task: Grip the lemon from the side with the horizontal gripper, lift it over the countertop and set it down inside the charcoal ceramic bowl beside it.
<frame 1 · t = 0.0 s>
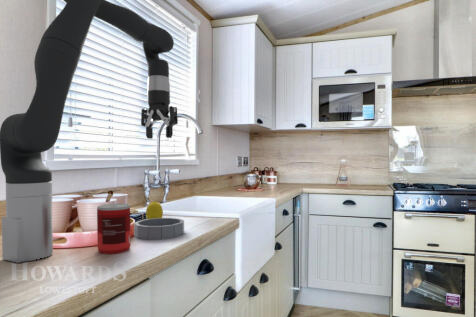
hand: (159, 138, 121), 29 cm above the counter, tool pointing down, fingers open, 8 cm apart
lemon: (154, 225, 119), on the counter
canned food: (114, 250, 87), on the counter
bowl: (159, 233, 105), on the counter
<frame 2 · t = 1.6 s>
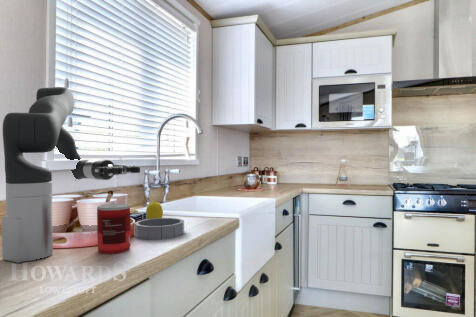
hand: (130, 170, 124), 18 cm above the counter, tool horizontal, fingers open, 8 cm apart
nothing on the counter moved.
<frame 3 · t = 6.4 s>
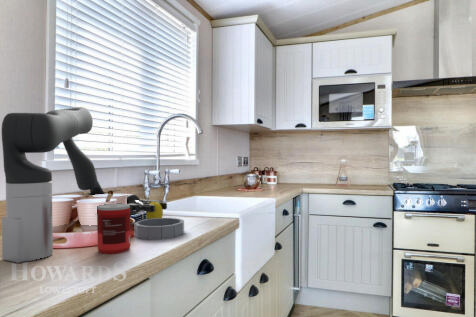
hand: (160, 207, 117), 6 cm above the counter, tool horizontal, fingers closed on lemon, 5 cm apart
lemon: (154, 225, 119), on the counter, touching gripper
everything else where it was.
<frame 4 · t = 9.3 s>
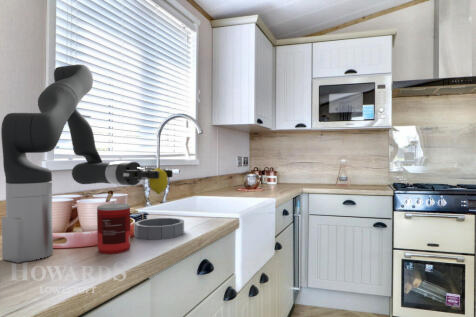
hand: (165, 174, 104), 18 cm above the counter, tool horizontal, fingers closed on lemon, 5 cm apart
lemon: (158, 194, 106), point 11 cm above the counter, touching gripper
everything else where it was.
when the fingers open (8 cm above the counter, at t = 12.6 s): lemon drops 1 cm, resting on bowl.
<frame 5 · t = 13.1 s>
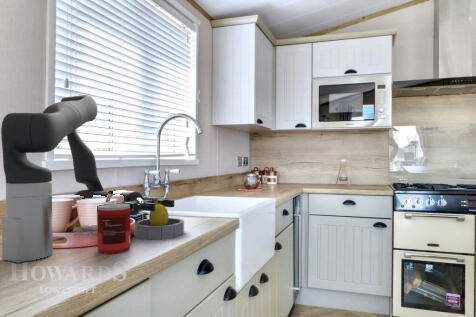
hand: (164, 205, 104), 9 cm above the counter, tool horizontal, fingers open, 8 cm apart
lemon: (159, 230, 105), point 1 cm above the counter, touching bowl
everything else where it was.
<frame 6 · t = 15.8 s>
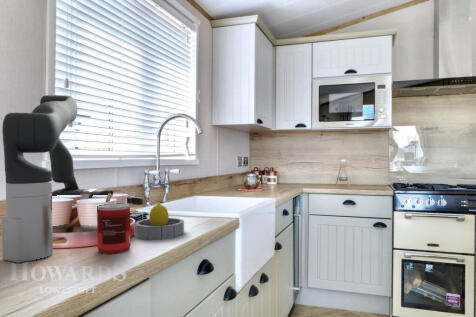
hand: (132, 203, 110), 9 cm above the counter, tool horizontal, fingers open, 8 cm apart
nothing on the counter moved.
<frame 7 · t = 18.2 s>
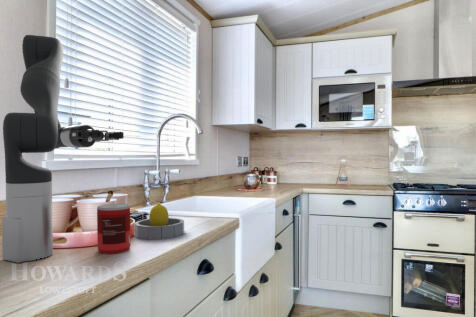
hand: (112, 134, 111), 30 cm above the counter, tool horizontal, fingers open, 8 cm apart
nothing on the counter moved.
at the end: lemon inside the target area on the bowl (0.1 cm from its centre), point 0.8 cm above the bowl's base; the gripper is holding nothing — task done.
